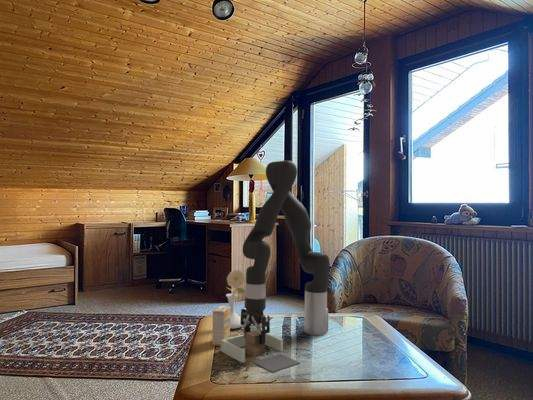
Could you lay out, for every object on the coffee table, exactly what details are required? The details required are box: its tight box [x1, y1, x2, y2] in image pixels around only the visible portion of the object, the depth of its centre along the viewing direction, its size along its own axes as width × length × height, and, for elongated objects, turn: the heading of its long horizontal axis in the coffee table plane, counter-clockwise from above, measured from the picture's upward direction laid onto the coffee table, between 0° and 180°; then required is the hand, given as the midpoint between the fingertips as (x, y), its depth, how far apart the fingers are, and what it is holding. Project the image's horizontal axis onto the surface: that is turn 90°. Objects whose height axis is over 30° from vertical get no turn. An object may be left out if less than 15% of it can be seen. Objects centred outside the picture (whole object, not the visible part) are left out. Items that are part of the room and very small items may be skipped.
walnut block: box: [244, 329, 266, 357], centre depth 143 cm, size 5×5×7 cm
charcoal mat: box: [253, 353, 301, 374], centre depth 134 cm, size 12×10×1 cm
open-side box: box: [220, 333, 284, 364], centre depth 144 cm, size 18×14×4 cm
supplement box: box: [211, 305, 231, 347], centre depth 153 cm, size 8×5×13 cm, turn 168°
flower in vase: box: [225, 269, 246, 330], centre depth 172 cm, size 13×11×25 cm
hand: (254, 341), depth 143 cm, fingers open, 8 cm apart
